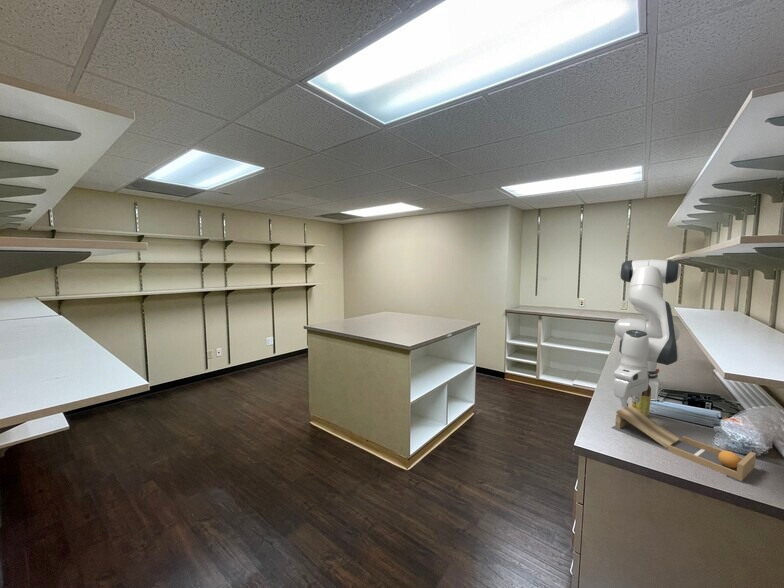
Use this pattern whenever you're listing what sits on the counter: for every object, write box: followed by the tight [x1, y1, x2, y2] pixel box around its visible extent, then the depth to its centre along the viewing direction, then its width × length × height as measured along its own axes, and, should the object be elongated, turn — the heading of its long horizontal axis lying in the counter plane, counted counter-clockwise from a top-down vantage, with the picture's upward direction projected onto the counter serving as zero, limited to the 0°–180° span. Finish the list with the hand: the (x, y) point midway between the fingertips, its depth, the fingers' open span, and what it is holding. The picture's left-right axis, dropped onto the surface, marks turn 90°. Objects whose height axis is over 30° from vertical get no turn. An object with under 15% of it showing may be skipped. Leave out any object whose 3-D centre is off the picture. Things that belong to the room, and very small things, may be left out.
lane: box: [610, 424, 757, 484], centre depth 116 cm, size 13×37×5 cm, turn 30°
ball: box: [718, 450, 740, 468], centre depth 105 cm, size 5×5×5 cm
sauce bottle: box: [631, 372, 652, 418], centre depth 140 cm, size 6×6×20 cm
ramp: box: [614, 404, 681, 448], centre depth 124 cm, size 10×18×7 cm, turn 30°
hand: (630, 404), depth 129 cm, fingers open, 8 cm apart
